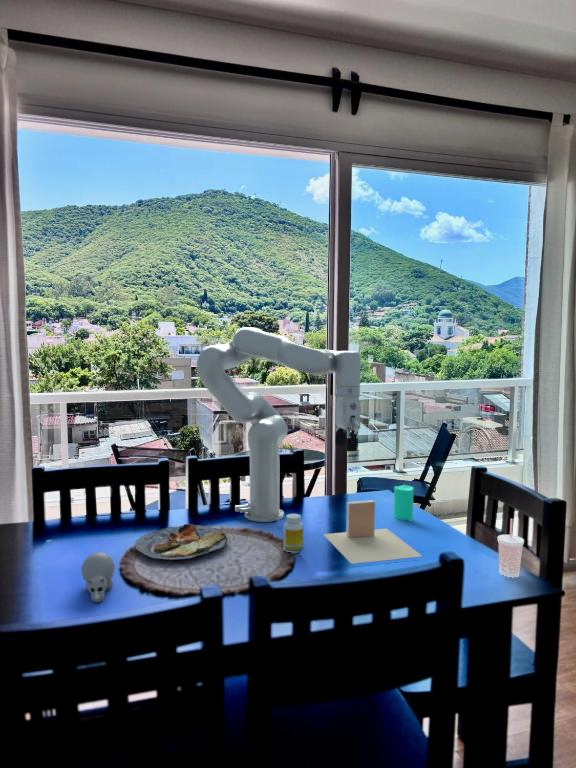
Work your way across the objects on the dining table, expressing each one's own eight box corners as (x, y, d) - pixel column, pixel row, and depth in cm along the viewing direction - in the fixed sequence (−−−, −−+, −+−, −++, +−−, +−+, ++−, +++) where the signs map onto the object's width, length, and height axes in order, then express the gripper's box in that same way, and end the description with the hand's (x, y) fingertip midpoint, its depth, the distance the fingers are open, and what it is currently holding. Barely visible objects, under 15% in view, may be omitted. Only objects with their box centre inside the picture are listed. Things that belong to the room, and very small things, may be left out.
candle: (411, 517, 186) (412, 480, 185) (413, 523, 180) (414, 485, 179) (392, 516, 187) (393, 480, 186) (394, 522, 181) (395, 485, 180)
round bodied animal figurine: (79, 615, 126) (76, 586, 122) (84, 574, 136) (81, 546, 132) (114, 611, 127) (111, 583, 124) (116, 571, 138) (114, 544, 134)
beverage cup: (508, 580, 139) (511, 524, 138) (490, 571, 144) (492, 516, 143) (528, 576, 141) (530, 521, 140) (509, 567, 147) (511, 513, 146)
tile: (348, 538, 164) (349, 504, 163) (346, 536, 166) (346, 502, 165) (374, 536, 166) (375, 502, 165) (372, 533, 168) (372, 500, 167)
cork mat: (351, 567, 146) (351, 563, 146) (323, 537, 167) (323, 534, 167) (422, 559, 151) (422, 556, 151) (386, 531, 172) (386, 528, 172)
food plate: (195, 525, 176) (194, 514, 176) (244, 547, 160) (244, 534, 159) (120, 548, 159) (119, 536, 158) (166, 575, 142) (166, 561, 142)
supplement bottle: (280, 548, 159) (280, 514, 158) (297, 545, 161) (297, 511, 160) (288, 555, 154) (289, 520, 153) (306, 551, 156) (306, 517, 155)
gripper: (370, 394, 167) (368, 453, 169) (348, 388, 184) (347, 442, 185) (346, 395, 165) (344, 454, 167) (326, 388, 182) (325, 443, 183)
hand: (345, 447), depth 176 cm, fingers open, 8 cm apart
